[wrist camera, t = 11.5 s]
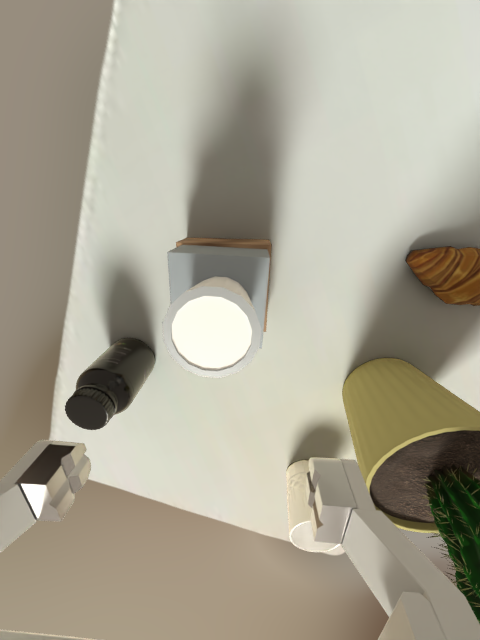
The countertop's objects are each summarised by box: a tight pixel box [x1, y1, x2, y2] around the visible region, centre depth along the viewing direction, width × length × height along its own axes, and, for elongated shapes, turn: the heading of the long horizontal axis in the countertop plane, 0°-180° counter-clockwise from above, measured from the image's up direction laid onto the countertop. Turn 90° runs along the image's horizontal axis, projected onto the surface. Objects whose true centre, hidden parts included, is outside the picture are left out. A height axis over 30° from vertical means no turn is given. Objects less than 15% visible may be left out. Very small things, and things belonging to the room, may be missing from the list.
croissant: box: [406, 246, 480, 306], centre depth 30 cm, size 14×7×5 cm, turn 69°
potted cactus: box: [342, 358, 480, 624], centre depth 25 cm, size 15×15×30 cm
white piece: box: [162, 276, 261, 378], centre depth 21 cm, size 7×7×7 cm
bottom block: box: [176, 238, 271, 332], centre depth 31 cm, size 10×10×5 cm
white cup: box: [286, 460, 340, 552], centre depth 42 cm, size 8×8×10 cm
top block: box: [167, 245, 270, 348], centre depth 27 cm, size 9×9×5 cm
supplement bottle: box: [65, 338, 155, 430], centre depth 33 cm, size 7×7×12 cm
